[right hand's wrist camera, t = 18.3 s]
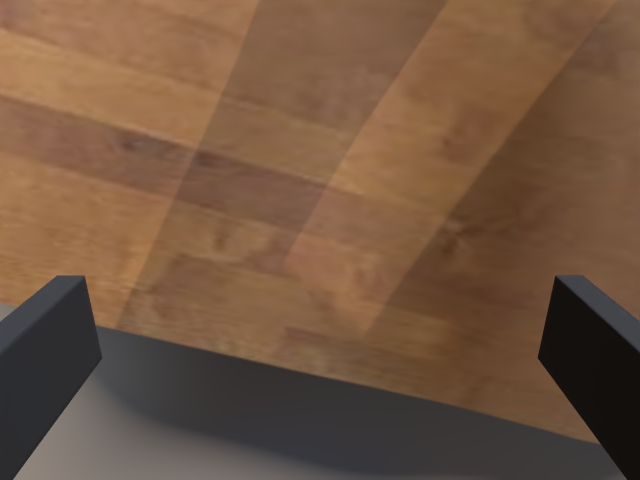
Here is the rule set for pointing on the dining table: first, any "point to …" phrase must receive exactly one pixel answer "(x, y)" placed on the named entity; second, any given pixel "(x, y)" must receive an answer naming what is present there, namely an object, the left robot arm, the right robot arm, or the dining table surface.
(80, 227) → the dining table surface
